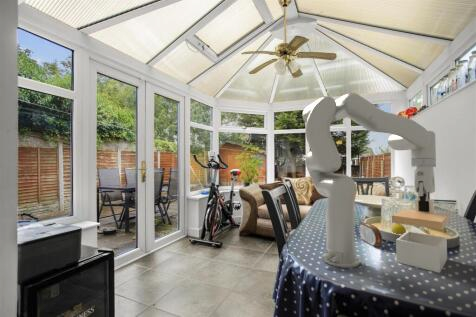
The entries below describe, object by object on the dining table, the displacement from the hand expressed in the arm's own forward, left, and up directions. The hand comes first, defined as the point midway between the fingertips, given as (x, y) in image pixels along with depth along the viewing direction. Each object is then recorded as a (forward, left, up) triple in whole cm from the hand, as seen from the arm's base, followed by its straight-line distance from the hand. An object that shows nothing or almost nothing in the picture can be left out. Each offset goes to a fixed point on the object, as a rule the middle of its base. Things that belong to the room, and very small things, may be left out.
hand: (424, 210), depth 91 cm
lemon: (+14, +12, -17) cm, 25 cm away
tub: (-6, 0, -17) cm, 18 cm away
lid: (-6, 0, -3) cm, 7 cm away
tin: (+1, +20, -18) cm, 27 cm away
